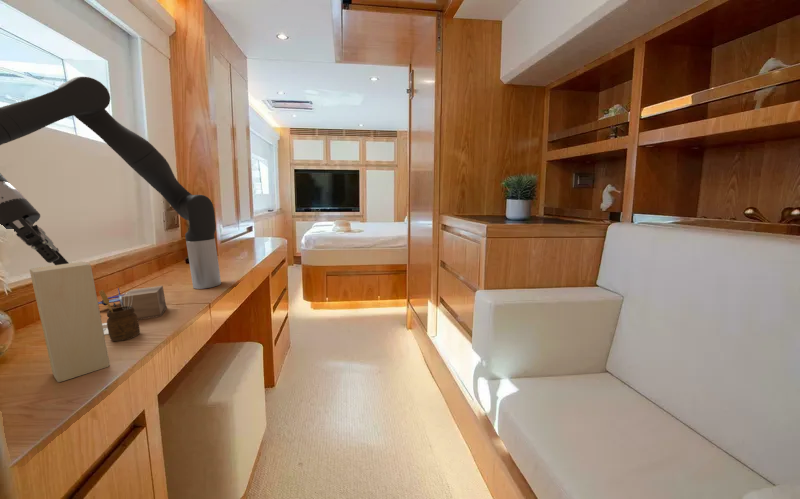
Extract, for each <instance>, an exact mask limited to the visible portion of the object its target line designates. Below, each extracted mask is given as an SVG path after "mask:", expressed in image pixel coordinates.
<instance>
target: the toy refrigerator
mask: <svg viewBox="0 0 800 499" xmlns="http://www.w3.org/2000/svg"><path fill="white" fill-rule="evenodd" d="M68 263H69V264H61V265H55V264H54V265H47V266H42V267H41V266H40V267H33V268H29V274H30V277H31V278H30V279H31V283H32V286H33V291H34V292H33V293H34V296H35V301H36V304H37V309H38V313H39V318H40V319H39V320H40V323H41V327H42V332H43V335H44V336H43V337H44V341H45V346H46V350H47V355H48V359H49V364H50V368H51V373H52V375H53V377H54V379H55V380H56V382H57V383H61V382H64V381H68V380H71V379H73V378H77V377H80V376H81V377H82V376H83V375H86V374H90V373H93V372H96V371H99V370H102V369H105V368H108V367H110V366H111V364H110V360H109V354H108V348H107V343H106V339H105V335H104V331H103V326H102V324H103V322H102V318H101V317H102V316H101V312H100V307H99V305H100V304H98V302H99V300H98V296H97V295H98V294H97V291H96V289H97V288H96V286H95V280H94V274H93V269H92V265H91V264H90V263H88V262H85V261H77V262H71V263H70V262H68Z"/></svg>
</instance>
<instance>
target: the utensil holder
mask: <svg viewBox="0 0 800 499" xmlns="http://www.w3.org/2000/svg"><path fill="white" fill-rule="evenodd" d="M98 293H99V296H100V297H101V299H102V300H103V301H104V303H106V304H107V305H106V306H107V307H108V310H107V311H106V316H107V320H106V323H107V327H108V332H109V334H108V336H109V339H110V340H111V341H112V342H120V341H121V342H122V341H125V340H130V339H132V338H135V337H137V336H138V335H140V331H141V329H140V323H139V320H138V318H137V315H136V314H135V313H133V312H134V308H133V306H123V305H122V304H120V306H118V307H114V308H112V307H111V305H110V303H109V300H110V299H108V297H109V296H107V294H106V292H105V291H104V289H101V290H99V291H98ZM126 293H129V292H128V291H126V292H124V293H122V294H120V295H121V296H122V295H123V294H126ZM128 296H129V295H128ZM131 296H132V295H131ZM124 305H125V296H124ZM128 305H129V303H128ZM131 305H132V303H131Z"/></svg>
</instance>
